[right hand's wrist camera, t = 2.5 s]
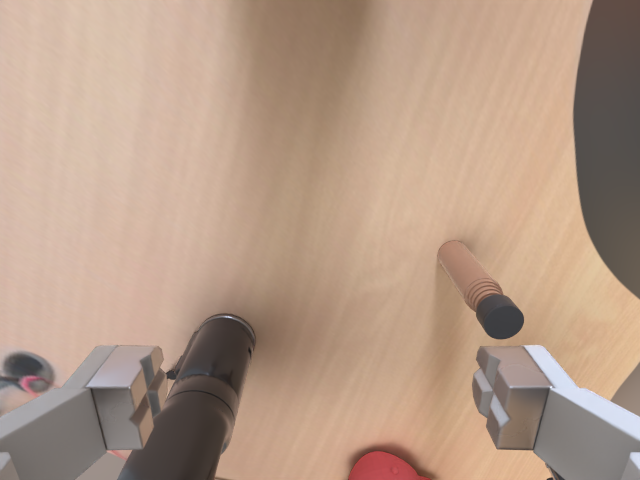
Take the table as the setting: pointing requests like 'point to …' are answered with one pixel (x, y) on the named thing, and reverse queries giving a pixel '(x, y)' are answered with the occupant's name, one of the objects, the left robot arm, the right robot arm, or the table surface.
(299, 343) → the table surface
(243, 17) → the table surface
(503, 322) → the cap
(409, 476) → the toy
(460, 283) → the bottle
